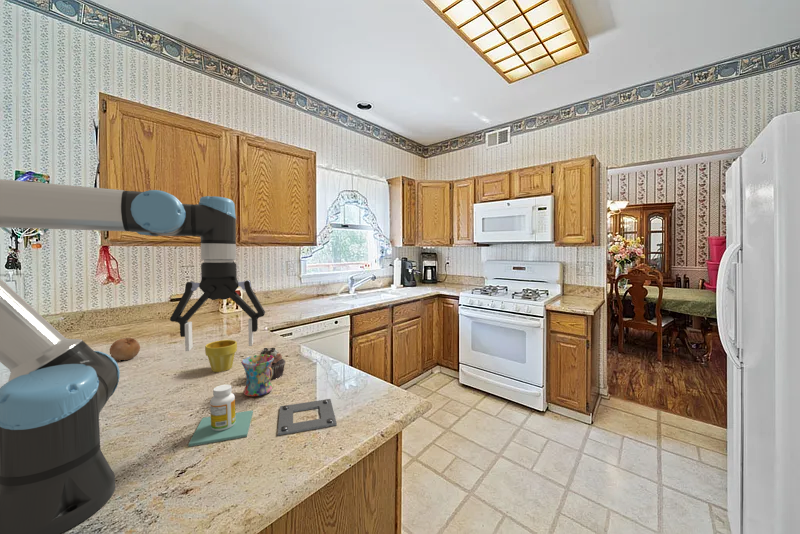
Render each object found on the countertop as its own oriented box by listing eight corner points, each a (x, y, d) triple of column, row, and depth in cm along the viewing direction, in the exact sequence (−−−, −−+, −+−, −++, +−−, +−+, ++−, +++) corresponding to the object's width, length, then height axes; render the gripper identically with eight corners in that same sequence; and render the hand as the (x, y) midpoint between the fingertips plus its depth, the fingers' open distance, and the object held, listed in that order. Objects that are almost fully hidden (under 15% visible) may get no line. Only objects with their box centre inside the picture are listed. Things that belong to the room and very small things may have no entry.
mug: (236, 394, 97) (235, 360, 97) (263, 383, 105) (262, 352, 105) (258, 404, 91) (257, 368, 90) (285, 392, 98) (285, 359, 98)
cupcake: (285, 378, 109) (285, 350, 109) (255, 383, 105) (254, 354, 105) (285, 369, 118) (284, 343, 117) (256, 373, 114) (256, 346, 114)
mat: (246, 436, 75) (246, 434, 75) (188, 446, 71) (188, 444, 71) (252, 412, 86) (252, 410, 86) (202, 419, 82) (202, 417, 82)
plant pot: (224, 375, 112) (223, 348, 112) (199, 373, 114) (198, 347, 113) (243, 365, 123) (242, 340, 122) (219, 363, 124) (219, 339, 124)
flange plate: (336, 425, 80) (336, 421, 80) (277, 435, 75) (277, 432, 75) (330, 400, 93) (330, 397, 93) (280, 408, 88) (280, 405, 88)
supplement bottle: (228, 417, 82) (226, 381, 82) (240, 423, 79) (239, 385, 79) (206, 427, 78) (205, 389, 77) (218, 434, 75) (217, 394, 74)
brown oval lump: (136, 365, 130) (147, 344, 130) (107, 366, 122) (118, 343, 122) (131, 353, 135) (141, 332, 135) (103, 353, 128) (113, 331, 127)
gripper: (274, 260, 84) (275, 338, 85) (164, 261, 76) (167, 347, 77) (272, 261, 77) (274, 346, 78) (151, 262, 69) (154, 356, 70)
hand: (220, 347), depth 78 cm, fingers open, 13 cm apart
